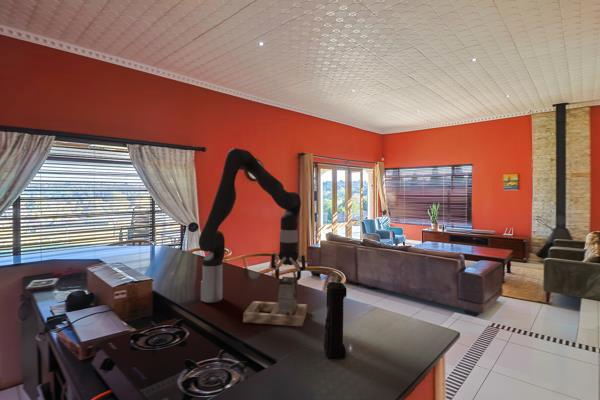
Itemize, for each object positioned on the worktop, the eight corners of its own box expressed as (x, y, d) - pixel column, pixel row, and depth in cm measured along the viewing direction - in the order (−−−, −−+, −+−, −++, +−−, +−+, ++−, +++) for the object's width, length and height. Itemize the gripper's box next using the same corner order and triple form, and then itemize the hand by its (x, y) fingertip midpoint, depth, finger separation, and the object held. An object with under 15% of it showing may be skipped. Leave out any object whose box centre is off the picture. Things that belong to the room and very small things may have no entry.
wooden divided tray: (243, 322, 123) (243, 313, 122) (253, 308, 136) (253, 301, 136) (302, 326, 119) (302, 317, 119) (306, 312, 133) (306, 304, 133)
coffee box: (282, 312, 132) (283, 276, 132) (297, 314, 131) (297, 277, 131) (277, 321, 123) (277, 282, 123) (293, 323, 122) (293, 283, 122)
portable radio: (322, 347, 103) (323, 274, 102) (340, 346, 104) (341, 273, 103) (326, 360, 95) (327, 281, 95) (345, 359, 96) (346, 280, 95)
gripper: (269, 241, 123) (269, 280, 124) (304, 242, 121) (303, 282, 122) (274, 238, 131) (273, 275, 131) (306, 239, 129) (306, 277, 129)
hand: (288, 279), depth 127 cm, fingers open, 8 cm apart
